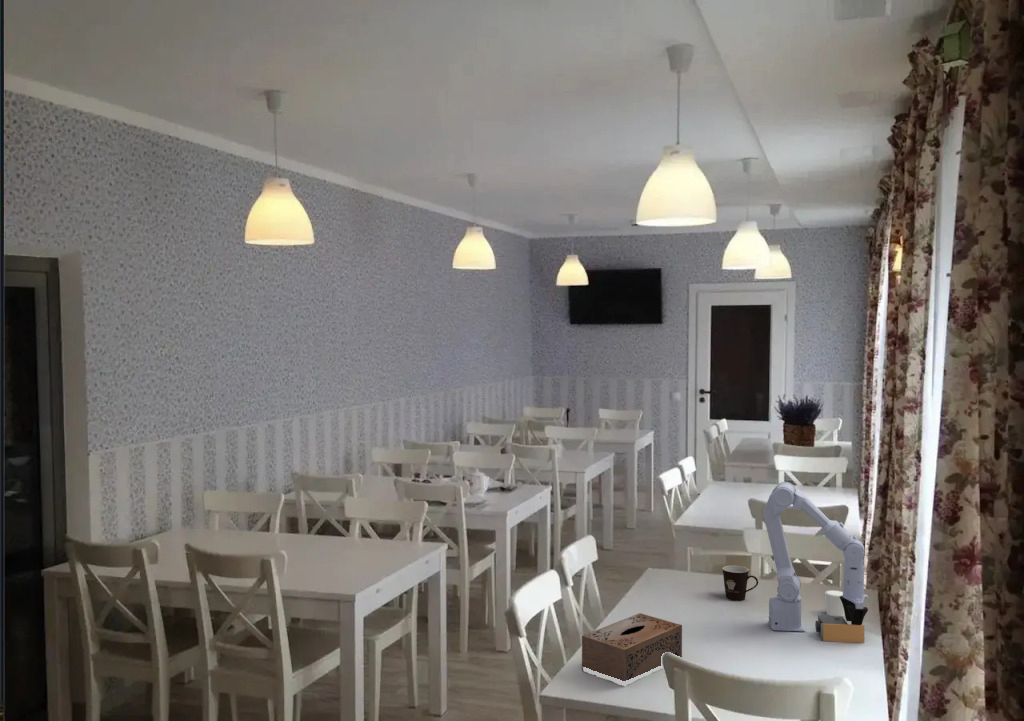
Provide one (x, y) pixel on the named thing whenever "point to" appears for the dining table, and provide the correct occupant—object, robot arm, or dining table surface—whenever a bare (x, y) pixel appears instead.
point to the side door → (842, 632)
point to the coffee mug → (736, 582)
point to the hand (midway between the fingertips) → (853, 625)
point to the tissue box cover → (630, 646)
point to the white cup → (834, 603)
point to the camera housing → (828, 621)
